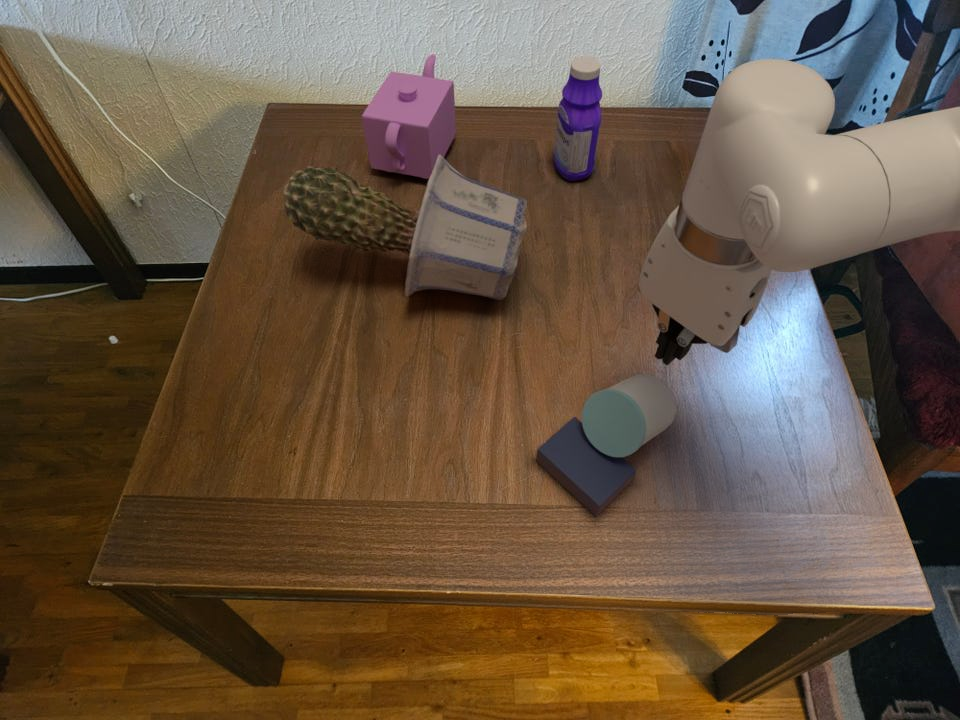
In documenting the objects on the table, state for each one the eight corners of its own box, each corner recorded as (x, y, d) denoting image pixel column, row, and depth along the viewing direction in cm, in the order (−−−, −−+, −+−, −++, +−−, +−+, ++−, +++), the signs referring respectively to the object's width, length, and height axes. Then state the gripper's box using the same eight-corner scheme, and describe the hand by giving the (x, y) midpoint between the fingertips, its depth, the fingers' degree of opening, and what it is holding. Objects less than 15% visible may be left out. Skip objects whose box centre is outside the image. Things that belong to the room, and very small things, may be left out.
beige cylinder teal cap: (627, 388, 77) (642, 339, 68) (676, 427, 73) (698, 381, 65) (567, 442, 73) (576, 397, 64) (616, 485, 70) (632, 444, 61)
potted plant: (544, 153, 80) (305, 87, 76) (531, 262, 70) (258, 192, 67) (508, 244, 94) (307, 191, 91) (494, 343, 85) (268, 290, 81)
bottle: (547, 158, 102) (556, 53, 87) (580, 151, 103) (594, 46, 88) (564, 187, 98) (576, 82, 83) (598, 179, 99) (616, 74, 84)
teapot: (428, 198, 97) (420, 126, 86) (366, 186, 98) (352, 114, 88) (466, 121, 108) (464, 49, 97) (410, 112, 109) (402, 40, 99)
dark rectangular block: (632, 481, 70) (637, 470, 67) (595, 517, 68) (599, 506, 65) (571, 428, 74) (574, 415, 71) (535, 460, 71) (536, 448, 69)
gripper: (833, 249, 49) (751, 377, 64) (677, 158, 55) (636, 294, 71) (779, 300, 46) (707, 421, 61) (621, 198, 53) (591, 331, 68)
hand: (669, 353), depth 66 cm, fingers closed
